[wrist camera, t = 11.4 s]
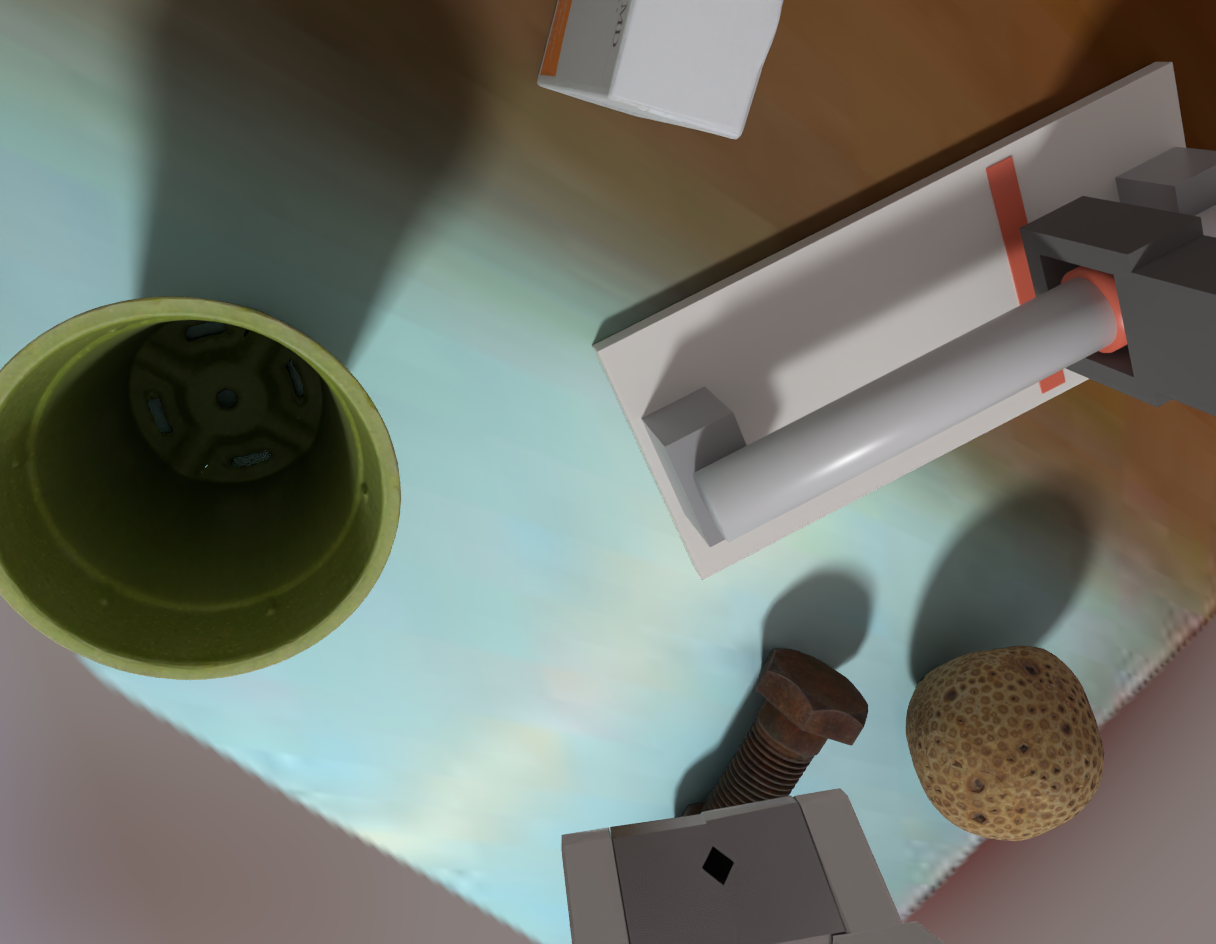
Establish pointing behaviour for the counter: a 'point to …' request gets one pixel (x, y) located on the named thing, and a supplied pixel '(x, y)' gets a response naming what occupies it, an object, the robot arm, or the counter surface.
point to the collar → (1139, 293)
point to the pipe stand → (892, 327)
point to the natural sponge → (1005, 742)
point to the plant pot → (188, 489)
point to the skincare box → (663, 57)
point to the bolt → (788, 729)
